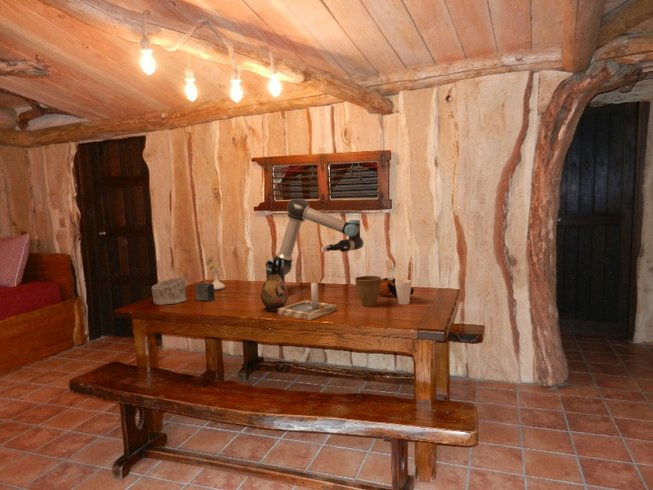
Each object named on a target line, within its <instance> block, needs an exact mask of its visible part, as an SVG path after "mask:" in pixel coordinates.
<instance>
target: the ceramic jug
mask: <svg viewBox="0 0 653 490" xmlns="http://www.w3.org/2000/svg"><path fill="white" fill-rule="evenodd" d="M272 259H273V262H271V261H268V260H266V262H267V263H266V262H265V268H266V267H267V268H270V269H271V270H272V271H271V274H270V276H269V277H268V278H267V277H266V280H265V282H264V283H263V286H262V287H261V292H260V300H261V303H262V305H264V307H265V308H266V309H265V310H266V311H268V312H274V311H275V312H278V311H277V309H279V308H282V307H284V306H285V304H286V303H287V301H288V297H289V290H288V288H287V286H286V283H285V284H284V282H283V280H282V279H281V277H280V270H281V265H282V259H281V258H280V257H276V256H275V257H273V258H272ZM276 261H278V266H277V264H276Z"/></svg>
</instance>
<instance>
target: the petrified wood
mask: <svg viewBox="0 0 653 490" xmlns="http://www.w3.org/2000/svg"><path fill="white" fill-rule="evenodd" d="M150 288H151V294H152V300H153V304H154V305H159V306H160V305H162V306H163V305H174V304H178V303H182V302H186V301H187V291H186V281H185V278H184V277H177V278H175V277H174V278H170V279H167V280H162V281H161V282H158V283H156V284H154V285H152V287H150Z"/></svg>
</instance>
